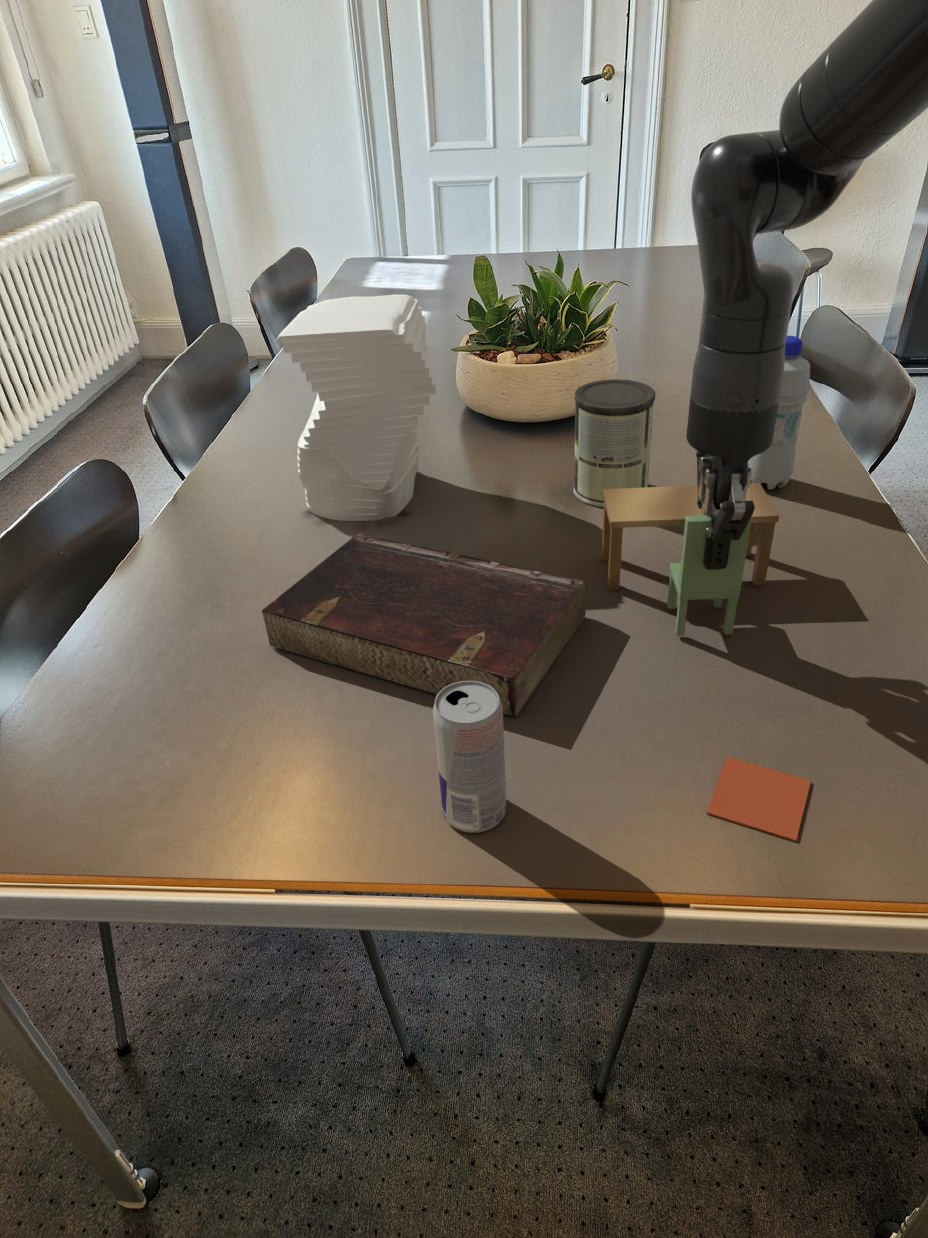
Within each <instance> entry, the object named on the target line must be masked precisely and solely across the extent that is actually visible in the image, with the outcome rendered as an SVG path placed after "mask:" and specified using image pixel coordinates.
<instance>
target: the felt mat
mask: <svg viewBox="0 0 928 1238" xmlns="http://www.w3.org/2000/svg"><path fill="white" fill-rule="evenodd" d="M811 783H812V780H809V779H805V778H803V777H799V776H795V775H792V774H789V773H785V772H781V771H778V770H774V769H770V768H768V767H764V766H760V765H757V764H754V763H749V762H745V761H743V760H739V759H736V758H732V757H728V756H727V757H726V759H725V762H724V764H723V767H722V770H721V773H720V776H719V778H718V781H717V784H716V787H715V789H714V792H713V795H712V797H711V800H710V803H709V805H708V809H707V811H706V815H709V816H711V817H716V818H719V819H721V820H725V821H728V822H731V823H734V824H738V825H741V826H743V827H748V828H751V829H754V830H757V831H761V832H763V833H767V834H770V835H773V836H776V837H779V838H783V839H786V840H789V841H791V842H797V840H798V837H799V832H800V829H801V824H802V820H803V816H804V811H805V808H806V804H807V799H808V795H809V792H810V788H811Z"/></svg>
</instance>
